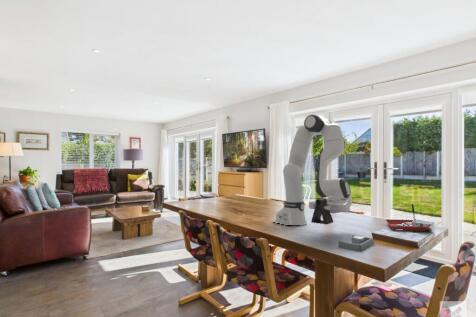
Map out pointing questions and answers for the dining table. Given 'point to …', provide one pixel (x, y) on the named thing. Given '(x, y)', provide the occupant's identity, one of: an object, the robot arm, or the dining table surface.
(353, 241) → the grey cube
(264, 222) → the dining table surface
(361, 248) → the tray
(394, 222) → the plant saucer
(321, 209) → the black a-shaped stand
